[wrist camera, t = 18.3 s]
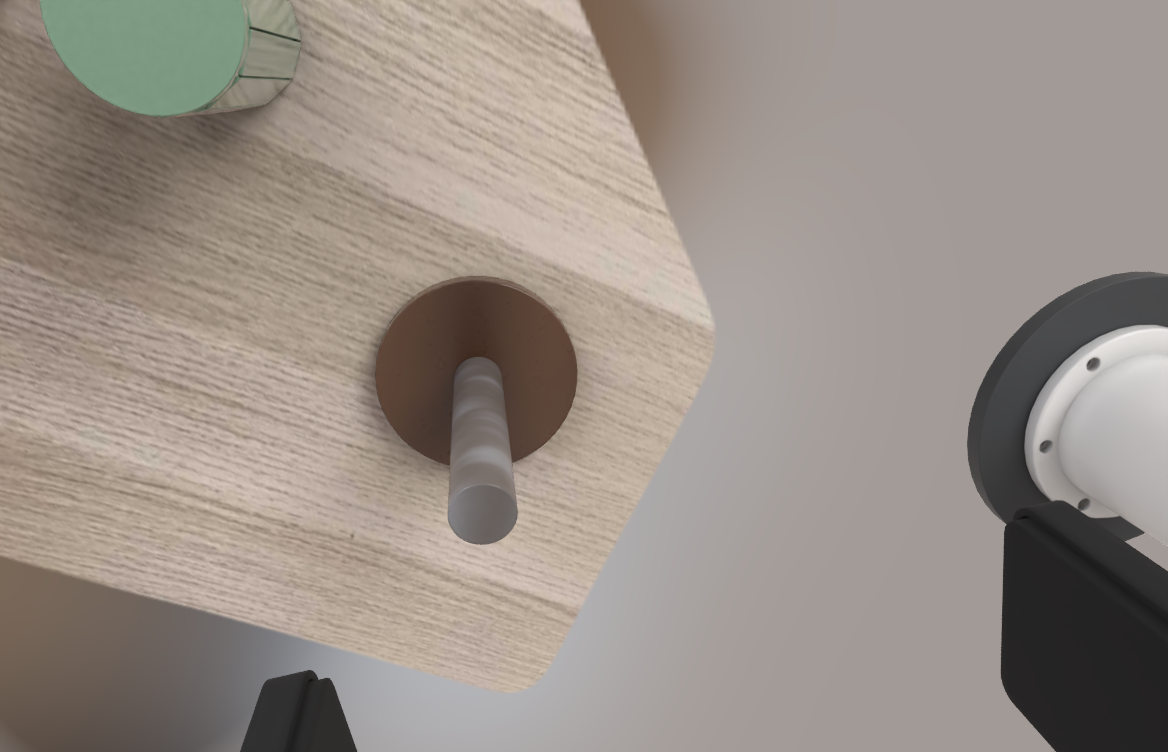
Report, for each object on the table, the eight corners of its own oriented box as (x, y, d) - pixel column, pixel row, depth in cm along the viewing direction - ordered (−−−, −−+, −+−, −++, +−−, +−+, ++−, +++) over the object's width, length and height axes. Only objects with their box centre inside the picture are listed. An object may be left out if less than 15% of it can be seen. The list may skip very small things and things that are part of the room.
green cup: (275, -59, 37) (209, -109, 27) (316, 96, 39) (269, 98, 30) (124, -34, 36) (5, -76, 27) (176, 121, 39) (83, 131, 29)
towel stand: (556, 257, 43) (603, 348, 28) (589, 438, 47) (646, 602, 32) (354, 297, 43) (292, 412, 28) (405, 477, 47) (374, 664, 31)
